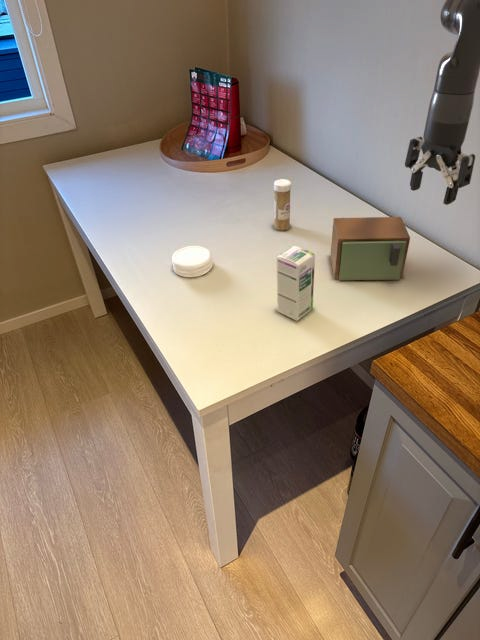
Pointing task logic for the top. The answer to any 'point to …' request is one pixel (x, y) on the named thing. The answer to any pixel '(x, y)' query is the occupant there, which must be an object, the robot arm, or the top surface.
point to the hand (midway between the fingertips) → (430, 196)
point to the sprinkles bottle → (282, 204)
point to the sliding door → (372, 260)
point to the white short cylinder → (192, 261)
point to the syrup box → (295, 282)
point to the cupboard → (366, 235)
